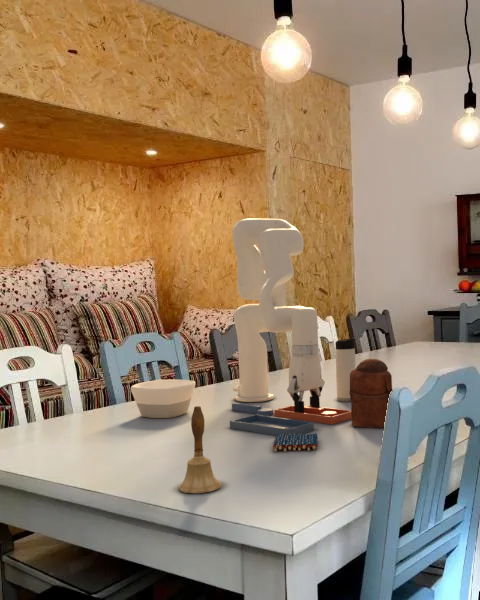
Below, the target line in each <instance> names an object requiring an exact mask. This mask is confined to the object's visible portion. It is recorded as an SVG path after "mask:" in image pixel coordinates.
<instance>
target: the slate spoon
mask: <svg viewBox="0 0 480 600" xmlns="http://www.w3.org/2000/svg"><path fill="white" fill-rule="evenodd" d="M231 411H233V412H241V413H248V414H249V413H250V414H254V415H255V414H256V415H263V416H272V415H274V408H269V407H264V408H262V405H258V404H252V403H251V404H249V403H244V402H232V403H231Z"/></svg>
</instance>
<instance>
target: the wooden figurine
mask: <svg viewBox="0 0 480 600" xmlns="http://www.w3.org/2000/svg"><path fill="white" fill-rule="evenodd" d="M392 377H393V376H392V374H391V372H390V371H389V368H388V365H387V364H386V363H385V362H384V361H382V360H380V359H377V358H366V359H364V360H361V361H360V362H359V363H358V365H356V369H354V370H352V371H351V373H350V399H351V401H350V403H351V406H350V409H351V410H350V411H351V414H352V419H351V426H353V427H357V428H378V429H379V428H383V429H385V428H384V422H385V416H386V410H387V403H388V398H389V394H390V392H391V391H392V392H393V380H392V379H393V378H392ZM390 395H391V394H390Z"/></svg>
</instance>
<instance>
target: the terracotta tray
mask: <svg viewBox="0 0 480 600" xmlns="http://www.w3.org/2000/svg"><path fill="white" fill-rule="evenodd" d="M293 405H294V404H291V405H288V406H284V407H280V408H276V409H273V415H274V417H278V418H285V419H292V420H300V421H307V422H314V423H318V424H325V425H326V424H327V425H335V424H338V423H342V422H346V421H348V420H352V414H351V410H350V409H349V410H348V409H341V408H332V407H325V406H324V407H323V406H320V408H323V409H324V411H335V412H337V415H336V416H332V417H330V416H322V415H315V414H307V413H299V412H291V406H293ZM304 406H307V407H310V405H307V404H304Z"/></svg>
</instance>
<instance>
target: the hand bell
mask: <svg viewBox="0 0 480 600" xmlns="http://www.w3.org/2000/svg"><path fill="white" fill-rule="evenodd" d="M190 425H191V426H190V428H191V432H192V434H193V441H194V442H193V443H194V446H193V447H194V450H193V451H194V452H193V457H192V458H191V459H188V461H187V463H186V466H187V467H186V473H185V476H184V479H183V481H182V482H181V483H180V484H179V486H178V491H180V492H181V493H185V494H205V493H210V492H214V491H216V490H219V489H220V488H222V483H221V482H220V481H219V480H218V479H217V478H216V476H215V475H214V471H213V469H212V465H211V460H210V459H209V458H208V457H205V456H204V453H203V452H204V448H203V447H204V446H203V436H204V432H205V415H204V414H203V411H202V407H201V406H199V405H198V406H197V405H196V406H194V407H193V412H192V414H191V419H190Z"/></svg>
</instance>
